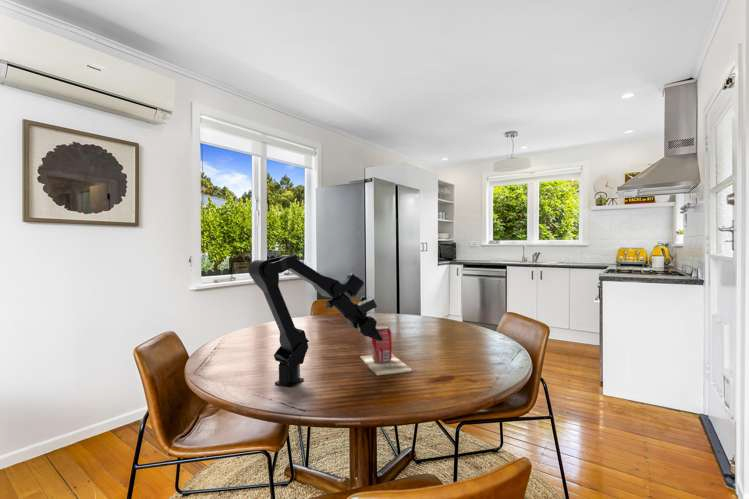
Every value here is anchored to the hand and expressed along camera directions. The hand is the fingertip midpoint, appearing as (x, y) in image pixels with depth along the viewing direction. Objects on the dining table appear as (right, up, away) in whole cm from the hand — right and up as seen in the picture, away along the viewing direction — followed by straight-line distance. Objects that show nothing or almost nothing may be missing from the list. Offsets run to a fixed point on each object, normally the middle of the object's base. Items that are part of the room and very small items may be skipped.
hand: (377, 337), depth 132 cm
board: (+2, -9, -1) cm, 10 cm away
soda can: (+2, -9, +1) cm, 9 cm away
